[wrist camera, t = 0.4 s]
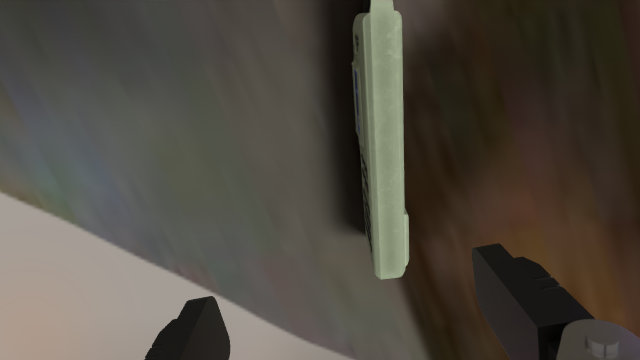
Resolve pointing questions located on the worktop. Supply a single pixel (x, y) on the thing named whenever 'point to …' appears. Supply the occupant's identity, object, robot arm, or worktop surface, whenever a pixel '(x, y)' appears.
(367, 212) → the handheld radio
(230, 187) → the worktop surface
